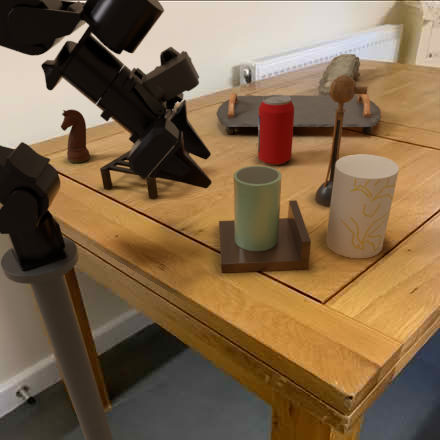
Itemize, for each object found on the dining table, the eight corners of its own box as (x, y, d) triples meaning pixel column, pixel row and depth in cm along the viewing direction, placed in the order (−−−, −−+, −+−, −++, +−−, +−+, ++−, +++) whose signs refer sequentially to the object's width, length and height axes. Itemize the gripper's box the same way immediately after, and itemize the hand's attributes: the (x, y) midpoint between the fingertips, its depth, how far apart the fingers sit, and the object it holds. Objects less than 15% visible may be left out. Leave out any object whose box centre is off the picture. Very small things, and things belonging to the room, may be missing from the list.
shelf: (221, 273, 64) (220, 245, 62) (219, 229, 74) (218, 203, 71) (308, 269, 64) (311, 241, 62) (294, 225, 74) (296, 200, 71)
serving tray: (212, 137, 106) (210, 109, 103) (222, 106, 125) (221, 82, 121) (386, 138, 102) (392, 109, 99) (371, 106, 120) (375, 80, 117)
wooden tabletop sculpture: (349, 195, 81) (368, 71, 69) (350, 207, 78) (370, 79, 66) (315, 193, 82) (327, 71, 70) (314, 205, 79) (327, 79, 67)
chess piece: (65, 157, 99) (53, 109, 93) (88, 152, 101) (78, 104, 95) (71, 164, 96) (59, 114, 90) (95, 159, 98) (85, 110, 92)
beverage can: (274, 151, 99) (276, 91, 91) (298, 160, 94) (302, 98, 87) (250, 160, 95) (251, 98, 88) (274, 169, 91) (276, 106, 84)
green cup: (251, 256, 65) (251, 189, 58) (226, 237, 69) (224, 172, 63) (287, 242, 67) (291, 176, 61) (260, 224, 72) (262, 161, 65)
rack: (154, 199, 83) (151, 178, 80) (103, 188, 87) (99, 168, 84) (190, 171, 92) (189, 151, 90) (143, 162, 96) (140, 143, 94)
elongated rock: (350, 84, 120) (311, 83, 123) (347, 105, 123) (310, 103, 126) (365, 51, 145) (332, 51, 148) (363, 70, 148) (331, 69, 151)
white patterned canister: (341, 262, 65) (353, 182, 58) (317, 234, 72) (325, 158, 64) (393, 252, 67) (411, 173, 60) (364, 225, 73) (378, 151, 66)
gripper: (143, 43, 44) (259, 152, 51) (159, 15, 58) (247, 102, 65) (78, 131, 49) (192, 220, 55) (107, 85, 63) (194, 159, 70)
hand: (209, 170), depth 61 cm, fingers open, 9 cm apart
